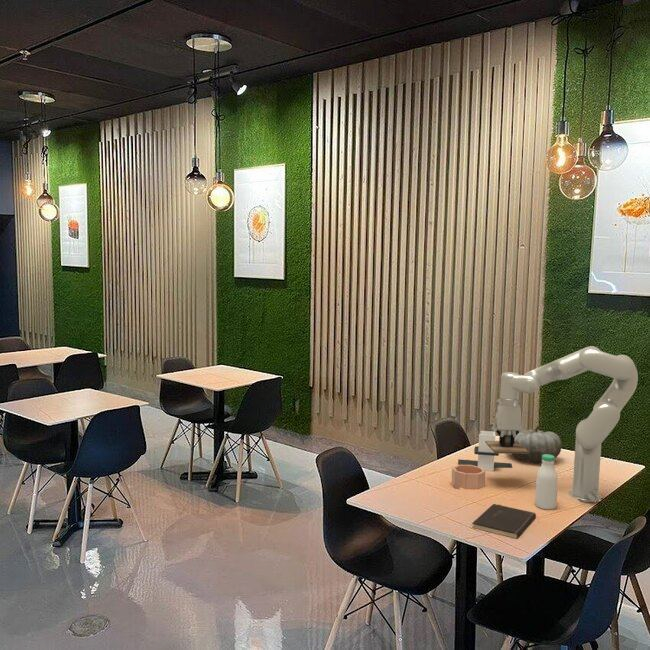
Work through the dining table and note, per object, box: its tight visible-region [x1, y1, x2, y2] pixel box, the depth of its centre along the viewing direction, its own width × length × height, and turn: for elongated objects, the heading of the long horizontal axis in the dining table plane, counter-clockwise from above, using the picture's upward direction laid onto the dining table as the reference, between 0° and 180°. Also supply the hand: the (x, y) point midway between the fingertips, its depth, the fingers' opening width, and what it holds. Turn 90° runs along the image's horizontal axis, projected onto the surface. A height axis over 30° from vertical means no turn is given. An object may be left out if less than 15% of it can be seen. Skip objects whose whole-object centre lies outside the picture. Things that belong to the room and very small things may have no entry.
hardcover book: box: [471, 503, 537, 539], centre depth 234 cm, size 16×23×2 cm
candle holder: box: [457, 430, 513, 472], centre depth 295 cm, size 25×24×16 cm
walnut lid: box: [485, 434, 529, 455], centre depth 272 cm, size 14×14×5 cm
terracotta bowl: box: [451, 464, 486, 490], centre depth 273 cm, size 13×13×7 cm
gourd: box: [506, 425, 563, 464], centre depth 312 cm, size 25×25×17 cm
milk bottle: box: [534, 454, 559, 511], centre depth 250 cm, size 8×8×20 cm
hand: (506, 445), depth 272 cm, fingers closed on walnut lid, 3 cm apart
